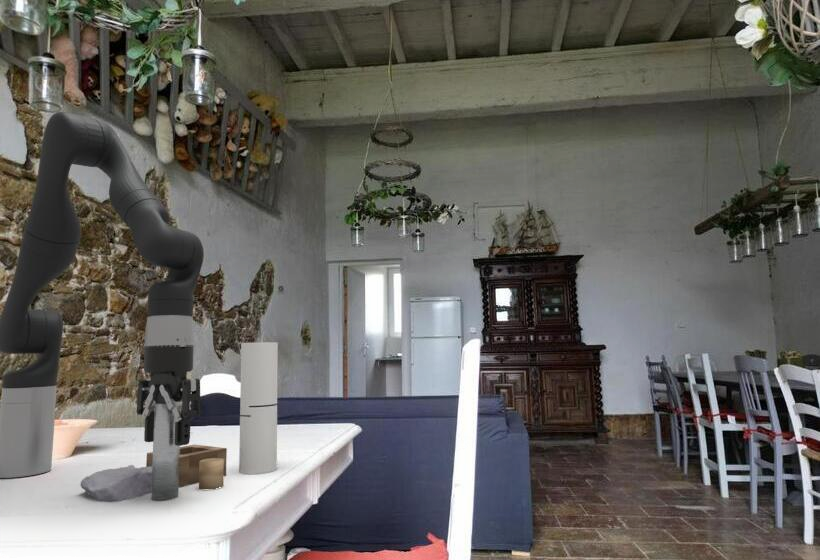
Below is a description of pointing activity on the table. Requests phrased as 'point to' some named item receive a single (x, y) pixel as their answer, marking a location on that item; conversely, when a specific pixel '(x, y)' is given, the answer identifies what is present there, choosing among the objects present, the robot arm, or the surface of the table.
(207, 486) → the oak stub
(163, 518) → the table surface
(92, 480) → the stone block
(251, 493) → the table surface
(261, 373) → the cylindrical container
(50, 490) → the table surface
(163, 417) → the steel pin
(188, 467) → the collar
